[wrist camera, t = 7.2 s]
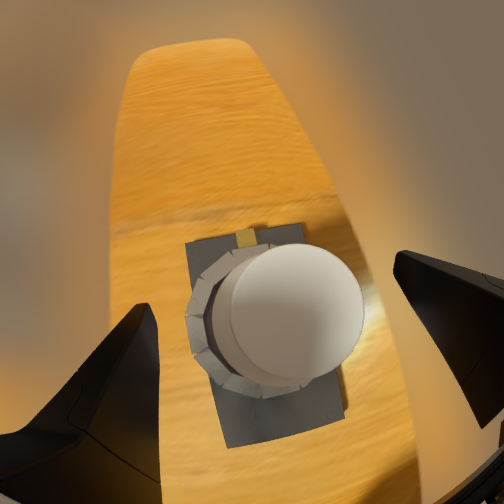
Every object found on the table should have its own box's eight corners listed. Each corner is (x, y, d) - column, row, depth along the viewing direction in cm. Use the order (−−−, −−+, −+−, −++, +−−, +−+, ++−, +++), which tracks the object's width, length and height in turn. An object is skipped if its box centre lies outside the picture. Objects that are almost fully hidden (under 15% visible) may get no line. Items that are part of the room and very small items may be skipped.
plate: (340, 415, 16) (344, 418, 15) (227, 444, 15) (227, 448, 14) (298, 227, 20) (300, 223, 19) (186, 246, 19) (185, 243, 18)
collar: (343, 370, 16) (352, 373, 15) (207, 403, 15) (204, 409, 13) (307, 222, 19) (312, 213, 17) (177, 244, 18) (173, 236, 16)
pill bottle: (298, 277, 18) (364, 214, 8) (311, 358, 16) (396, 377, 7) (215, 287, 17) (194, 230, 8) (226, 372, 16) (218, 419, 6)
